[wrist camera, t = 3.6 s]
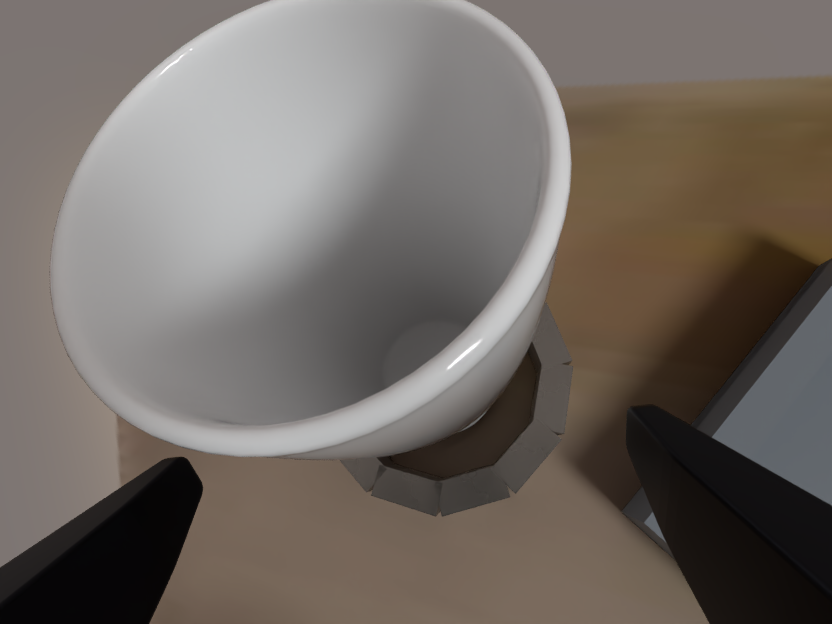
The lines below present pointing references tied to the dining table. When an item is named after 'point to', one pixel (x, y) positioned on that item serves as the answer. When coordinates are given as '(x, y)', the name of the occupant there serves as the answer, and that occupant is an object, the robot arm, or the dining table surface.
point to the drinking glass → (317, 230)
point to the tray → (776, 401)
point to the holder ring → (513, 463)
